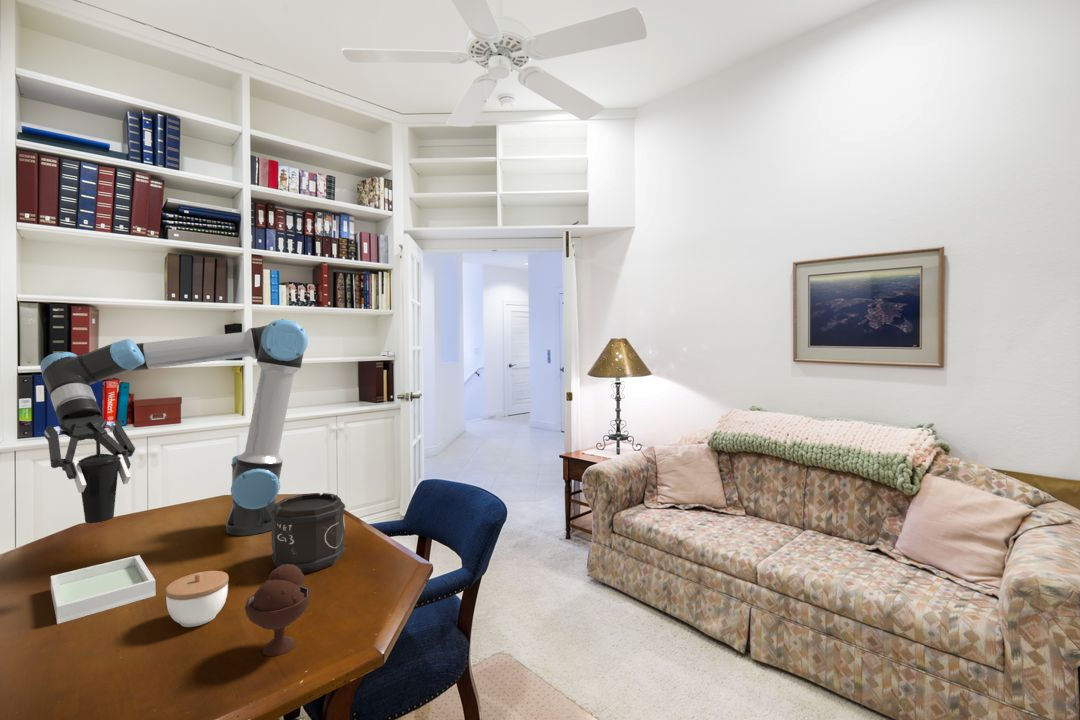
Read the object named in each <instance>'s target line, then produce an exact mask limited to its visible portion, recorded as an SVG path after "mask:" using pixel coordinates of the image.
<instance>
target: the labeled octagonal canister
mask: <svg viewBox="0 0 1080 720" xmlns="http://www.w3.org/2000/svg"><path fill="white" fill-rule="evenodd" d="M344 509H346V504H345V503H344V502H343V501H342V499H341V498H340V497H339V496H338V495H337V494H334V493H327V492H322V494H321V493H320V492H314V493H302V494H301V493H300V494H297V495H294V496H290V497H286V498H285V497H284V498H283V499H282V500H280V501H278V502H277V504H275V507H274V509H273V510H272V511H271V516H272V524H271V528H272V530H271V550H272V553H271V555H270V557H271V558H272V559H271V560H272V561H273V564H274V567H276V568H277V567H279V566H281V565H286V564H291V565H295V566H297V567H298V568H299V569H300V570H301V571H302V574H305V573H307V574H308V573H313V572H314V573H315V572H318V571H320V570H323V569H326V568H328V567H331V566H334V565H335V564H336V563H337V562H338V561H339V560H340V559H341V557H342V556H343V553H344V552H345V551H346V547H347V546H346V545H345V536H346V535H345V534H346V532H345V531H346V528H345V527H346V521H345V514H344V513H345V512H344Z"/></svg>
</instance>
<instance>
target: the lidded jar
mask: <svg viewBox="0 0 1080 720" xmlns="http://www.w3.org/2000/svg"><path fill="white" fill-rule="evenodd" d="M228 592H229V574H228V573H227V572H225V571H221V570H220V571H219V570H207V571H200V572H199V571H198V572H196V573H195V572H194V573H192V574H188V575H186V576H183V577H180V578H177V579H176V580H173V581H172V582H171V583H169V584H168V585H167V586H166V587H165V596H166V597H165V599H166V600H165V601H166V607H167V611H168V614H169V616H170V617H171V618H172V620H173V621H175V622H176V623H178V624H180V626H182V627H183V628H193V627H194V628H195V627H198V626H199V627H200V626H202V625H204V624H208V623H209V622H211V621H212V620H214V619H215V618H216V616H217V615H218V614H219V612H220V611H221V610H222V609H223V607H224V605H225V604H226V600H227V597H228Z"/></svg>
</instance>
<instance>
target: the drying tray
mask: <svg viewBox="0 0 1080 720" xmlns="http://www.w3.org/2000/svg"><path fill="white" fill-rule="evenodd" d="M50 593H51V599H52V603H53V608H54V614H55V618H56V624H57V625H59V624H62V623H66V622H69V621H73V620H76V619H80V618H84V617H86V616H91V615H93V614H97V613H101V612H104V611H107V610H111V609H114V608H118V607H121V606H125V605H129V604H132V603H134V602H139V601H141V600H146V599H150V598H153V597H156V595H157V594H156V593H157V590H156V579H155V577H154V575H153V574H152V572H151V571H150V570H149V568H148V567H147V565H146V564H145V562H144V560H143V559H142V557H141V555H140V554H138V555H134V556H130V557H129V556H128V557H125V558H121V559H117V560H113V561H108V562H103V563H100V564H99V563H98V564H95V565H91V566H87V567H83V568H79V569H74V570H72V571H67V572H63V573H58V574H55V575H51V576H50Z"/></svg>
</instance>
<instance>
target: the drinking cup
mask: <svg viewBox="0 0 1080 720" xmlns="http://www.w3.org/2000/svg"><path fill="white" fill-rule="evenodd" d="M95 445H96V446H95V448H96V449H95V451H96V452H95V454H91V455H89V456H88V455H87V456H85V457H83V458H81V459H79V460H77V461H78V462H79V463H77V464H78V465H79V466H80V467H81V470H82V473H83V476H84V479H85V481H86V484H87V485H86V487H85V489H84V492H81V493H80V494H81V500H82V502H81V503H82V509H83V514H84V515H83V516H84V521H85V523H86V524H97V523H103V522H106V521H107V522H108V521H109V520H112V519H114V516H115V507H116V496H117V486H118V477H119V476H118V475H119V472H118V466H119V460H120V459H121V457H118V456H114V455H113V454H112V453H101V443H100V431H98V432H96V441H95Z"/></svg>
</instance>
